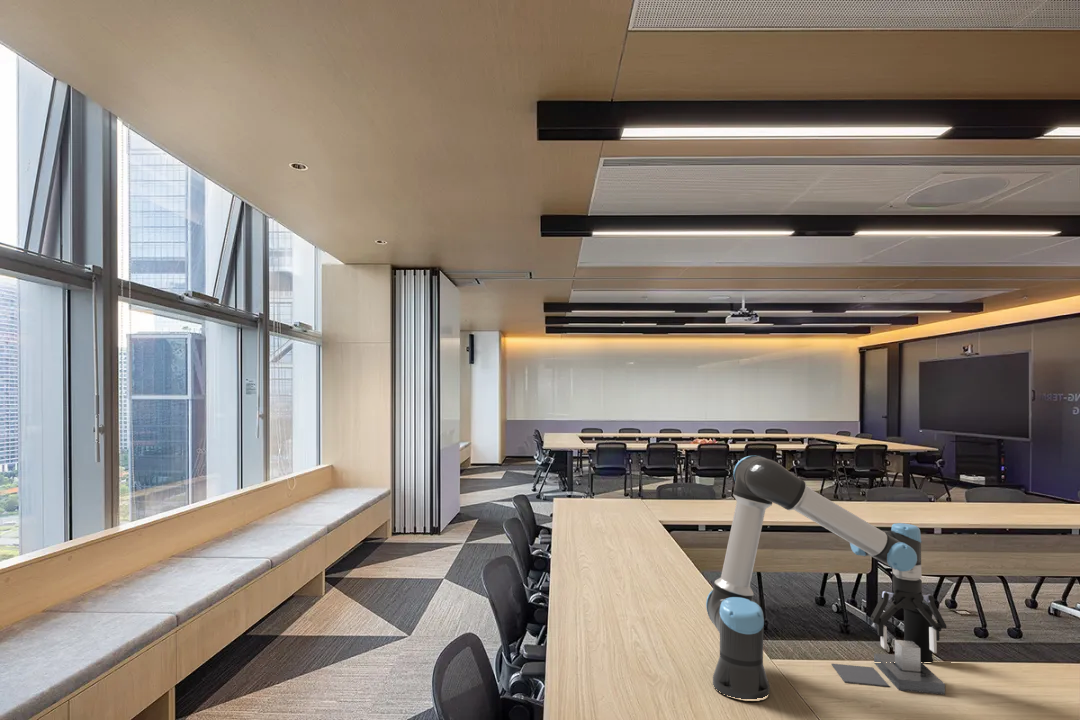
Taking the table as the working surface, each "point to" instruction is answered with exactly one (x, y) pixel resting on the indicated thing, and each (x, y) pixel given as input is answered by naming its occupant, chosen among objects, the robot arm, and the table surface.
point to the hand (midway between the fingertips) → (908, 649)
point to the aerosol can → (918, 631)
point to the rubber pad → (859, 675)
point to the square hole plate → (909, 676)
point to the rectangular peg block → (907, 656)
